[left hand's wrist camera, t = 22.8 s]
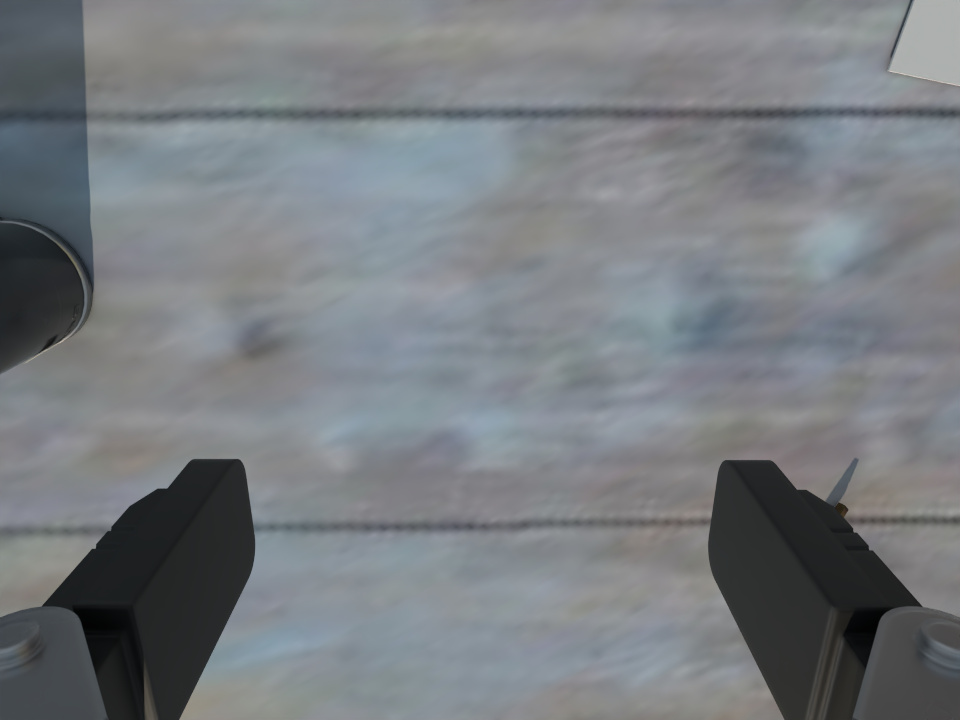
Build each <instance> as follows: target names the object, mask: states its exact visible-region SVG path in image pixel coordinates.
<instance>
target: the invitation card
mask: <svg viewBox="0 0 960 720" xmlns="http://www.w3.org/2000/svg"><path fill="white" fill-rule="evenodd" d="M887 71H890V72H895V73H900V74H904V75H909V76H914V77H919V78H924V79H928V80H933V81H938V82H943V83H947V84H952V85H957V86H960V0H913V1H912V4H911V6H910V9H909V12H908V15H907V17H906V20H905V23H904V26H903V28H902V31H901V34H900V36H899V39H898V42H897V45H896V47H895V50H894V53H893V56H892V58H891V61H890V64H889V66H888V69H887Z"/></svg>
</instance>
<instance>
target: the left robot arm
mask: <svg viewBox="0 0 960 720" xmlns="http://www.w3.org/2000/svg"><path fill="white" fill-rule="evenodd" d="M91 306H92V286H91V282H90V278H89V275H88V272H87V270H86V268H85V266H84V264H83V262H82V261H81V259H80V257H79V256H78V255H77V253H76V252H75V251H74V250H73V248H72V247H71V246H70V245H69V244H68V243H67V242H66V241H64V240H63V239H62V238H61V237H60V236H58V235H57V234H55V233H54V232H52V231H51V230H49V229H47V228H45V227H43V226H41V225H38V224H35V223H33V222H29V221H25V220H18V219H2V218H0V374H2V373H4V372H6V371H8V370H9V369H11V368H13V367H15V366H17V365H18V364H20V363H22V362H24V361H26V360H27V359H29V358H31V357H33V356H35V355H36V354H38V353H40V352H42V351H44V350H45V349H47V350H48V348H49V349H50V348H51V347H53V346H55V345H56V344H59V343H61V342H63V341H64V340H66V339H68V338H70V337H71V336H73V335H74V334H75V333H77V332H78V331H79V330H80V329H81V328H82V326H83V325H84V324H85V322H86V320H87V318H88V316H89V314H90V311H91ZM44 352H45V351H44ZM42 353H43V352H42ZM39 355H40V354H39ZM37 356H38V355H37ZM37 356H36V357H37ZM34 358H35V357H34ZM32 359H33V358H32ZM32 359H31V360H32ZM29 361H30V360H29ZM27 362H28V361H27ZM22 365H23V364H22ZM708 552H709V561H710V567H711V570H712V574H713V576H714V579H715V581H716V583H717V585H718V587H719V589H720V591H721V593H722V595H723V597H724V599H725V601H726V603H727V605H728V607H729V609H730V611H731V613H732V615H733V617H734V619H735V621H736V623H737V625H738V627H739V629H740V631H741V633H742V635H743V637H744V639H745V641H746V643H747V645H748V647H749V649H750V651H751V653H752V655H753V657H754V659H755V661H756V663H757V665H758V667H759V669H760V671H761V673H762V675H763V677H764V679H765V681H766V683H767V685H768V687H769V689H770V691H771V693H772V695H773V697H774V699H775V701H776V703H777V705H778V707H779V709H780V711H781V713H782V715H783V717H784V719H785V720H960V618H959V617H957V616H954V615H952V614H949V613H946V612H943V611H939V610H935V609H931V608H925V607H922V606H921V604H920V603H919V602H918V601H917V600H916V599H915V598H914V596H913V595H912V594H911V593H910V592H909V591H908V590H907V589H906V587H905V586H904V585H903V584H902V583H901V582H900V581H899V580H898V578H897V577H896V576H895V575H894V574H893V573H892V572H891V571H890V569H889V568H888V567H887V566H886V565H885V564H884V563H883V562H882V560H881V559H880V558H879V557H878V556H877V555H876V554H875V553H874V551H869V546H868V545H867V544H866V542H865V541H864V540H863V539H862V538H861V537H860V536H859V535H858V533H854V532H853V528H852V527H851V525H850V524H849V523H848V522H847V521H846V520H845V519H844V518H843V516H842V515H841V514H840V513H839V512H838V511H837V510H836V509H835V508H834V507H833V506H831V505H830V504H828V503H826V502H825V501H823V500H822V499H820V498H818V497H817V496H815V495H814V494H812V493H810V492H809V491H807V490H797V489H796V488H795V487H794V486H793V485H792V483H791V482H790V481H789V480H788V478H787V477H786V476H785V475H784V474H783V472H782V471H781V470H780V469H779V468H778V466H777V465H776V464H775V463H774V462H773V461H770V460H725V461H723V462H722V464H721V466H720V468H719V471H718V477H717V484H716V491H715V498H714V505H713V512H712V519H711V526H710V533H709V541H708ZM254 556H255V535H254V528H253V521H252V514H251V507H250V500H249V493H248V486H247V479H246V472H245V468H244V465H243V463H242V462H241V461H240V460H239V459H193V460H191V461H190V462H189V463H188V464H187V465H186V467H185V468H184V469H183V470H182V471H181V473H180V474H179V475H178V476H177V477H176V479H175V480H174V481H173V482H172V484H171V485H170V486H169V487H168V488H167V489H157V490H155V491H153V492H152V493H150V494H149V495H147V496H145V497H144V498H142V499H141V500H139V501H137V502H136V503H134V504H133V505H131V506H130V507H129V508H128V509H127V510H126V511H125V512H124V513H123V514H122V516H121V517H120V518H119V519H118V520H117V521H116V522H115V524H114V525H113V526H112V529H111V531H108V532H107V533H106V534H105V535H104V536H103V537H102V538H101V540H100V541H99V542H98V543H97V544H96V549H92V550H91V551H90V552H89V553H88V554H87V555H86V557H85V558H84V559H83V560H82V561H81V562H80V563H79V565H78V566H77V567H76V568H75V569H74V570H73V571H72V572H71V574H70V575H69V576H68V577H67V578H66V579H65V580H64V582H63V583H62V584H61V585H60V586H59V587H58V588H57V590H56V591H55V592H54V593H53V594H52V595H51V596H50V598H49V599H48V600H47V601H46V602H45V603H44V604H43V605H42V607H35V608H29V609H25V610H21V611H17V612H14V613H11V614H8V615H6V616H3V617H1V618H0V720H179V719H180V717H181V715H182V713H183V711H184V709H185V707H186V705H187V703H188V700H189V698H190V696H191V694H192V692H193V690H194V688H195V686H196V684H197V682H198V680H199V678H200V676H201V674H202V672H203V670H204V668H205V666H206V664H207V662H208V660H209V658H210V656H211V654H212V652H213V650H214V648H215V646H216V644H217V642H218V640H219V637H220V635H221V633H222V631H223V629H224V627H225V625H226V623H227V621H228V619H229V617H230V615H231V613H232V611H233V609H234V607H235V605H236V603H237V601H238V599H239V597H240V595H241V593H242V591H243V589H244V587H245V585H246V583H247V581H248V579H249V576H250V574H251V571H252V567H253V562H254Z"/></svg>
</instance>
